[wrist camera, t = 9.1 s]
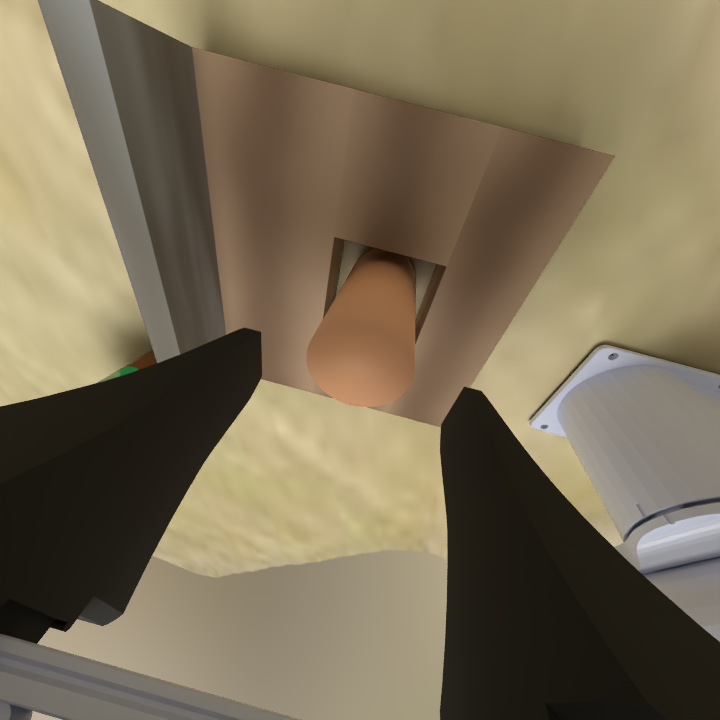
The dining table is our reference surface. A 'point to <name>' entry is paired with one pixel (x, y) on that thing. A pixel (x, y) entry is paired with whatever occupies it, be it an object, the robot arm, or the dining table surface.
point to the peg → (368, 333)
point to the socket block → (306, 199)
